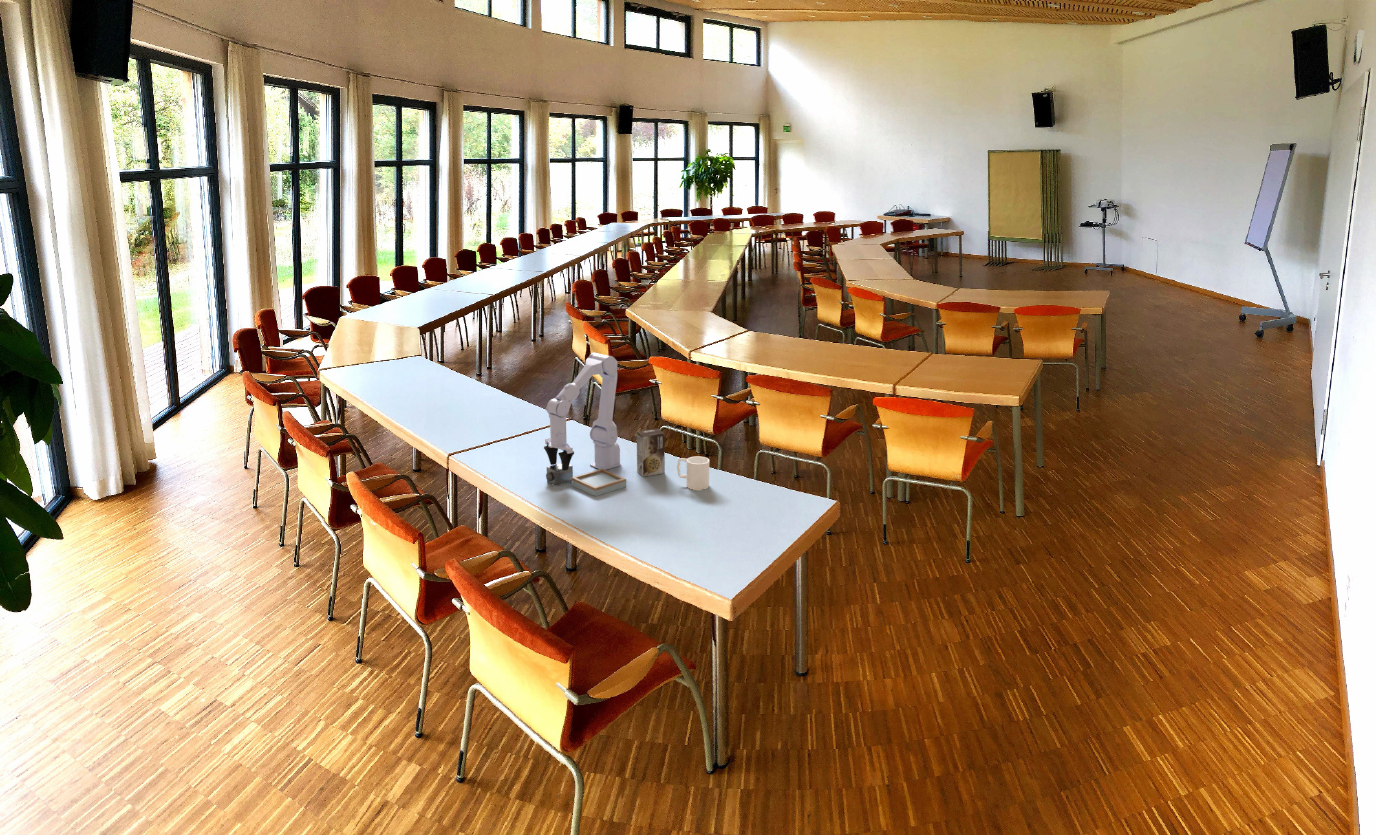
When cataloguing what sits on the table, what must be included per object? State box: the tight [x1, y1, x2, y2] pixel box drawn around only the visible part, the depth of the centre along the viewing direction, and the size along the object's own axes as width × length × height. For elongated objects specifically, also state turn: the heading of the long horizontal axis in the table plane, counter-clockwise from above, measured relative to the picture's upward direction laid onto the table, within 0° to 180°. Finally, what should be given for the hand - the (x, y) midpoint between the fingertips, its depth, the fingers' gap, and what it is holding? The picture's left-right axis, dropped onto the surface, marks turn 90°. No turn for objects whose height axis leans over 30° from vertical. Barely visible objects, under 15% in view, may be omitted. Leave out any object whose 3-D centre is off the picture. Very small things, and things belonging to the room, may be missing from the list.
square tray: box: [571, 469, 627, 497], centre depth 319 cm, size 14×14×3 cm
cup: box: [676, 455, 710, 491], centre depth 319 cm, size 8×12×10 cm
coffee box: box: [636, 428, 666, 478], centre depth 330 cm, size 9×6×16 cm
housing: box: [545, 462, 574, 487], centre depth 322 cm, size 9×5×6 cm, turn 133°
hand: (559, 467), depth 321 cm, fingers open, 7 cm apart
